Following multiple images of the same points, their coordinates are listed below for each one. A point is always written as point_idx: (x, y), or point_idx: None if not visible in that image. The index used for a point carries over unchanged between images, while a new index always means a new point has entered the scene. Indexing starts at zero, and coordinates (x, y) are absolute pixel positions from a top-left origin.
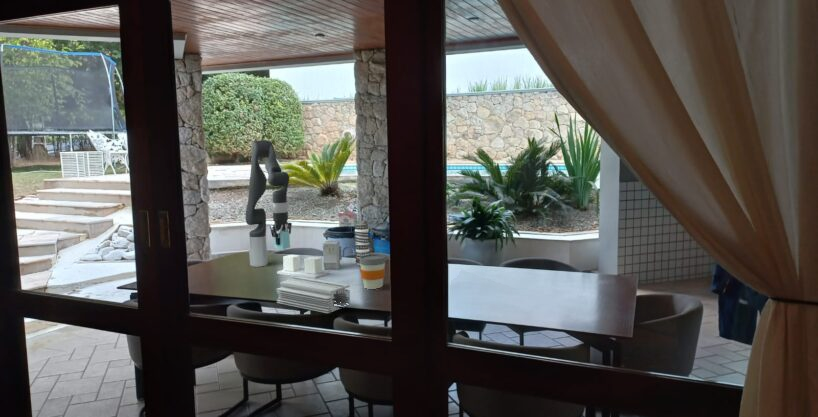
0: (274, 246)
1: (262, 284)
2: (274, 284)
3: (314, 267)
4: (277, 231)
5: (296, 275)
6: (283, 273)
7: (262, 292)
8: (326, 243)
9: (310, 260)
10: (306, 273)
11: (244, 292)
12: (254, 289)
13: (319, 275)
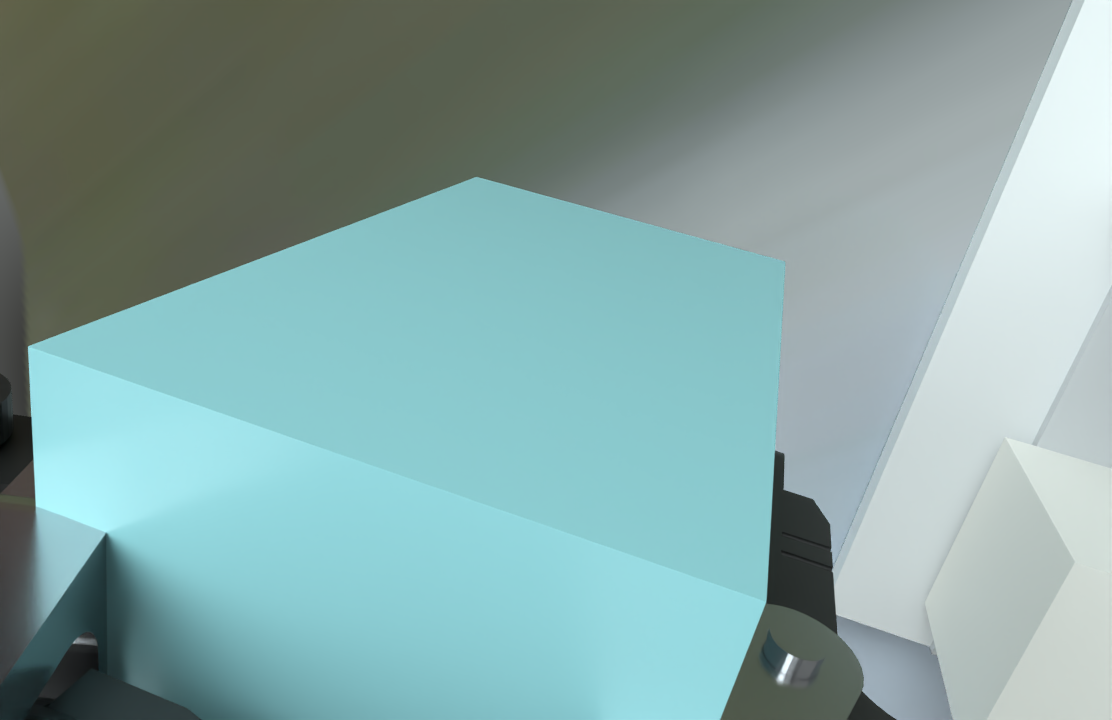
0: (451, 192)
1: (404, 37)
2: None
3: (943, 658)
4: (322, 523)
5: (944, 310)
6: (1071, 20)
7: (132, 246)
8: None
9: (999, 674)
10: (993, 457)
11: (56, 33)
12: (187, 78)
13: (927, 639)
